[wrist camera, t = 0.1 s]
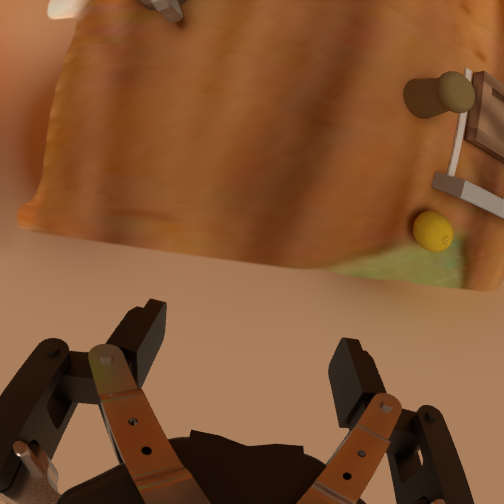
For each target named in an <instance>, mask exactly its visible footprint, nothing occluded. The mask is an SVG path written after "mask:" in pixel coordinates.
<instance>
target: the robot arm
mask: <svg viewBox="0 0 504 504" xmlns="http://www.w3.org/2000/svg"><path fill="white" fill-rule="evenodd" d="M166 310H167V303H166V302H162V301H158V300H155V299H150V300H149V301H148V302H147V304H146V305H145V307H144V308H142V307H138V306H137V307H135V308H133V309H131V310H130V311H128V313H127V314H126V315H125V317H124V319H123V320H122V321H121V322H120V324H119V325H118V326H117V328H116V329H115V331H114V332H113V333H112V335H111V337H110V338H109V339H108V341H107V342H106V344H100V345H97V346H95V347H93V348H92V349H91V350H90V351H89V352H75V351H69V347H68V345H67V343H66V342H64V341H63V340H61V339H57V338H49V339H46V340H44V341H42V342H41V343H39V345H38V346H37V347H36V348H35V350H34V351H33V352H32V354H31V355H30V356H29V357H28V359H27V360H26V361H25V363H24V364H23V365H22V366H21V368H20V369H19V370H18V372H17V373H16V375H15V376H14V377H13V379H12V380H11V381H10V383H9V384H8V386H7V387H6V389H5V390H4V391H3V393H2V394H1V396H0V500H1V501H3V502H5V503H6V504H366V503H365V502H364V501H363V500H362V499H361V498H360V496H361V494H362V493H363V491H364V490H365V488H366V486H367V485H368V483H369V481H370V479H371V478H372V476H373V474H374V473H375V471H376V469H377V467H378V465H379V463H380V462H381V460H382V458H383V456H384V454H385V453H387V456H388V461H389V466H390V471H391V476H392V481H393V486H394V491H395V497H396V503H397V504H474V501H473V498H472V494H471V491H470V488H469V485H468V482H467V479H466V476H465V473H464V470H463V467H462V464H461V461H460V459H459V456H458V453H457V450H456V448H455V445H454V443H453V440H452V437H451V435H450V432H449V430H448V427H447V425H446V423H445V420H444V418H443V415H442V414H441V413H440V411H439V410H438V409H436V408H435V407H433V406H430V405H423V406H421V407H420V408H419V409H418V411H417V412H413V411H410V410H405V409H402V406H401V404H400V402H399V401H398V400H397V399H396V398H395V397H394V396H392V395H390V394H387V393H386V390H385V387H384V385H383V382H382V380H381V377H380V375H379V374H378V370H377V368H376V365H375V362H374V360H373V358H372V357H371V356H370V355H369V353H368V352H367V351H363V350H362V347H361V344H360V342H359V340H358V339H352V338H342V339H341V340H340V342H339V344H338V346H337V348H336V351H335V353H334V355H333V358H332V359H331V362H330V364H329V369H328V375H329V379H330V384H331V389H332V393H333V398H334V403H335V408H336V413H337V417H338V423H339V427H340V428H349V431H350V432H349V433H348V434H347V436H346V437H345V438H344V440H343V441H342V443H341V444H340V445H339V447H338V448H337V449H336V451H335V452H334V454H333V455H332V456H331V457H330V459H329V460H328V461H327V463H326V464H324V463H323V462H321V461H319V460H318V459H316V458H314V457H312V456H309V455H307V454H304V450H303V446H296V445H284V444H269V445H258V446H246V445H243V444H240V443H237V442H235V441H232V440H229V439H227V438H224V437H222V436H219V435H214V434H209V433H204V432H199V431H195V430H191V432H190V437H179V438H172V439H167V437H166V435H165V434H164V432H163V430H162V428H161V426H160V424H159V422H158V420H157V418H156V416H155V415H154V412H153V410H152V408H151V407H150V404H149V402H148V400H147V398H146V396H145V394H144V392H143V390H142V389H141V388H142V385H143V383H144V381H145V379H146V376H147V374H148V372H149V370H150V368H151V366H152V363H153V361H154V359H155V357H156V355H157V353H158V351H159V349H160V346H161V344H162V341H163V339H164V334H165V325H166ZM78 403H87V404H98V406H99V409H100V412H101V415H102V418H103V421H104V424H105V427H106V430H107V433H108V435H109V438H110V441H111V443H112V447H113V449H114V452H115V455H116V457H117V459H118V462H119V465H118V466H116V467H114V468H112V469H110V470H108V471H106V472H104V473H102V474H100V475H98V476H96V477H94V478H92V479H90V480H88V481H85V482H83V483H81V484H79V485H77V486H75V487H72V488H70V489H69V490H67V491H66V492H64V493H63V494H62V495H60V494H59V492H58V489H57V483H58V472H57V470H56V468H55V466H54V465H53V463H52V462H51V460H52V457H53V455H54V452H55V451H56V448H57V446H58V444H59V442H60V440H61V438H62V435H63V433H64V431H65V429H66V427H67V425H68V423H69V421H70V418H71V417H72V415H73V412H74V410H75V408H76V406H77V404H78ZM419 450H421V454H422V457H423V465H421V462H420V458H419V455H418V451H419Z"/></svg>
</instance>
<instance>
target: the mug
mask: <svg viewBox="0 0 504 504" xmlns="http://www.w3.org/2000/svg"><path fill="white" fill-rule="evenodd" d="M138 1H140V2H141V3H142V4H143V5H144V6H145V7H146V8H147V9H149V10H157V11H159V12H160V13H161V14H162V15H163V16H164V17H165V18H166V19H167V20H168V21H169V22H171V23H174V22H178V21H180V20H182V18H183V15H182V11H181V8H180V6H179V5H180V4H182V3H183V2H184V1H186V0H138Z"/></svg>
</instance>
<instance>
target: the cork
mask: <svg viewBox="0 0 504 504" xmlns="http://www.w3.org/2000/svg"><path fill="white" fill-rule="evenodd" d="M404 100H405V104H406V106H407V108H408V109H409V110H410V111H411V113H412V114H414V115H415V116H417V117H419V118H422V119H425V118H430V117H433V116H436V115H439V114H442V113H444V112H447V111H452V112H454V113H465V112H467V111H469V110H470V109H471V108H472V107H473V105H474V101H475V92H474V88H473V86H472V84H471V82H470V81H469V80H468V79H467V78H466V77H465V76H464V75H462V74H460V73H458V72H451V71H449V72H446V73H444V74H442V75H441V76H440V77H439V78H428V79H413V80H411V81H409V82H408V83H407V84H406V86H405V89H404Z"/></svg>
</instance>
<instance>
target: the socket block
mask: <svg viewBox="0 0 504 504" xmlns="http://www.w3.org/2000/svg"><path fill="white" fill-rule="evenodd" d="M473 88H474V92H475V101H474V105H473V107H472V108H471V109H470V110H469V117H468V123H467V129H466V135H465V140H466V141H468V142H470V143H472V144H474V145H475V146H477V147H479V148H481V149H482V150H484V151H486V152H487V153H489V154H491V155H492V156H494V157H496V158H497V159H499V160H500V161H502V162H503V163H504V85H503V84H502V83H501V82H499V81H498V80H497V79H495V78H494V77H493V76H491V75H490V74H488V73H487V72H485V71H481V72H476V73H474V76H473Z"/></svg>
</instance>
